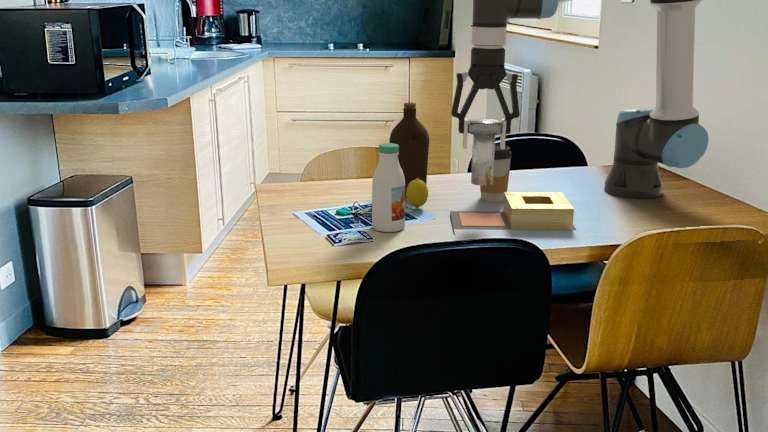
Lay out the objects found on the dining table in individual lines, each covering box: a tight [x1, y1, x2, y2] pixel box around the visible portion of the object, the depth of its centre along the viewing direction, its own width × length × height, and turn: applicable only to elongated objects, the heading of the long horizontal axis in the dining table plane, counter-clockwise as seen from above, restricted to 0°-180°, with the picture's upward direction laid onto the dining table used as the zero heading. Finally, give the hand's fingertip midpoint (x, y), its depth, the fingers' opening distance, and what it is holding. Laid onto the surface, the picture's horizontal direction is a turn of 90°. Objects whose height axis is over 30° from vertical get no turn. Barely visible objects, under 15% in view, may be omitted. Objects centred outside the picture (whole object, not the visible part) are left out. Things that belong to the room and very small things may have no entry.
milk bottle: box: [371, 142, 406, 233], centre depth 175 cm, size 8×8×20 cm
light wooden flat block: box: [502, 191, 575, 231], centre depth 178 cm, size 14×14×5 cm
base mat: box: [449, 210, 577, 236], centre depth 179 cm, size 28×14×2 cm, turn 89°
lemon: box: [406, 178, 429, 209], centre depth 192 cm, size 6×6×8 cm
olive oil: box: [389, 101, 430, 200], centre depth 202 cm, size 11×11×25 cm
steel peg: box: [467, 118, 502, 187], centre depth 174 cm, size 8×8×14 cm
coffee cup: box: [479, 144, 513, 203], centre depth 195 cm, size 8×8×15 cm
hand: (483, 147), depth 174 cm, fingers closed on steel peg, 8 cm apart
